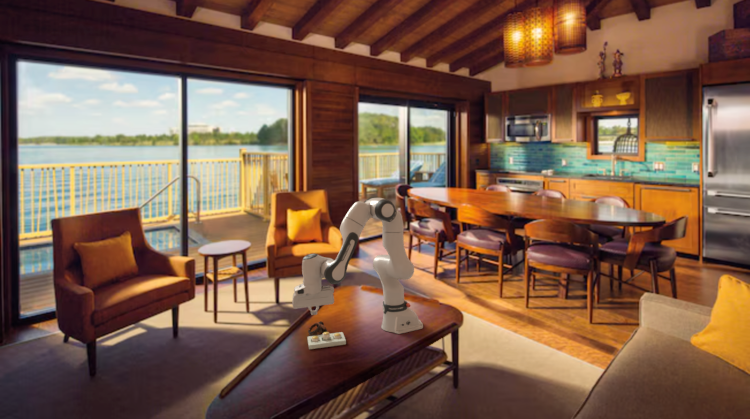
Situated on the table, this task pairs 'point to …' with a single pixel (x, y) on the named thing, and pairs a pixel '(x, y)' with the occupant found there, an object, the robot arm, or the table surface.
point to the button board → (327, 343)
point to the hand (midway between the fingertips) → (314, 314)
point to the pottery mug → (319, 329)
